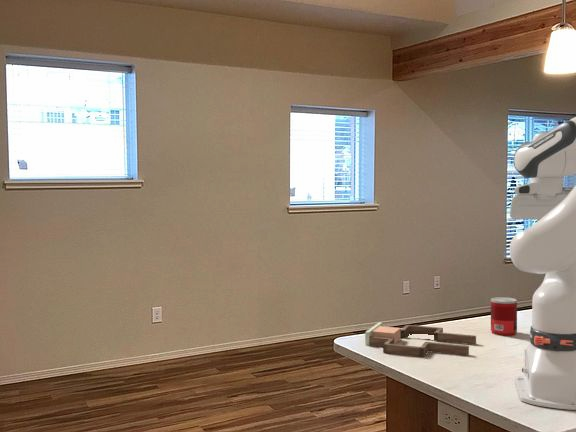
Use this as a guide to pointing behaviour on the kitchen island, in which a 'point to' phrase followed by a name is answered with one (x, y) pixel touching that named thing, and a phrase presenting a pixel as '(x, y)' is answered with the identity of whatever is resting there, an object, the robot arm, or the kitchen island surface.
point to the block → (387, 333)
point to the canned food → (504, 316)
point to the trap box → (427, 346)
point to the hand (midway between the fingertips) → (546, 234)
